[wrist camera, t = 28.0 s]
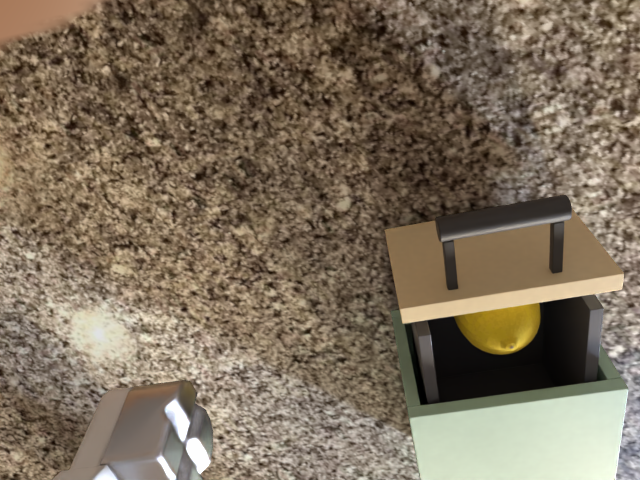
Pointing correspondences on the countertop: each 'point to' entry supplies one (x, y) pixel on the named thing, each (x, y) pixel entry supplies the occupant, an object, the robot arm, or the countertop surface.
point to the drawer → (502, 296)
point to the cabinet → (516, 427)
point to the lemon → (501, 328)
